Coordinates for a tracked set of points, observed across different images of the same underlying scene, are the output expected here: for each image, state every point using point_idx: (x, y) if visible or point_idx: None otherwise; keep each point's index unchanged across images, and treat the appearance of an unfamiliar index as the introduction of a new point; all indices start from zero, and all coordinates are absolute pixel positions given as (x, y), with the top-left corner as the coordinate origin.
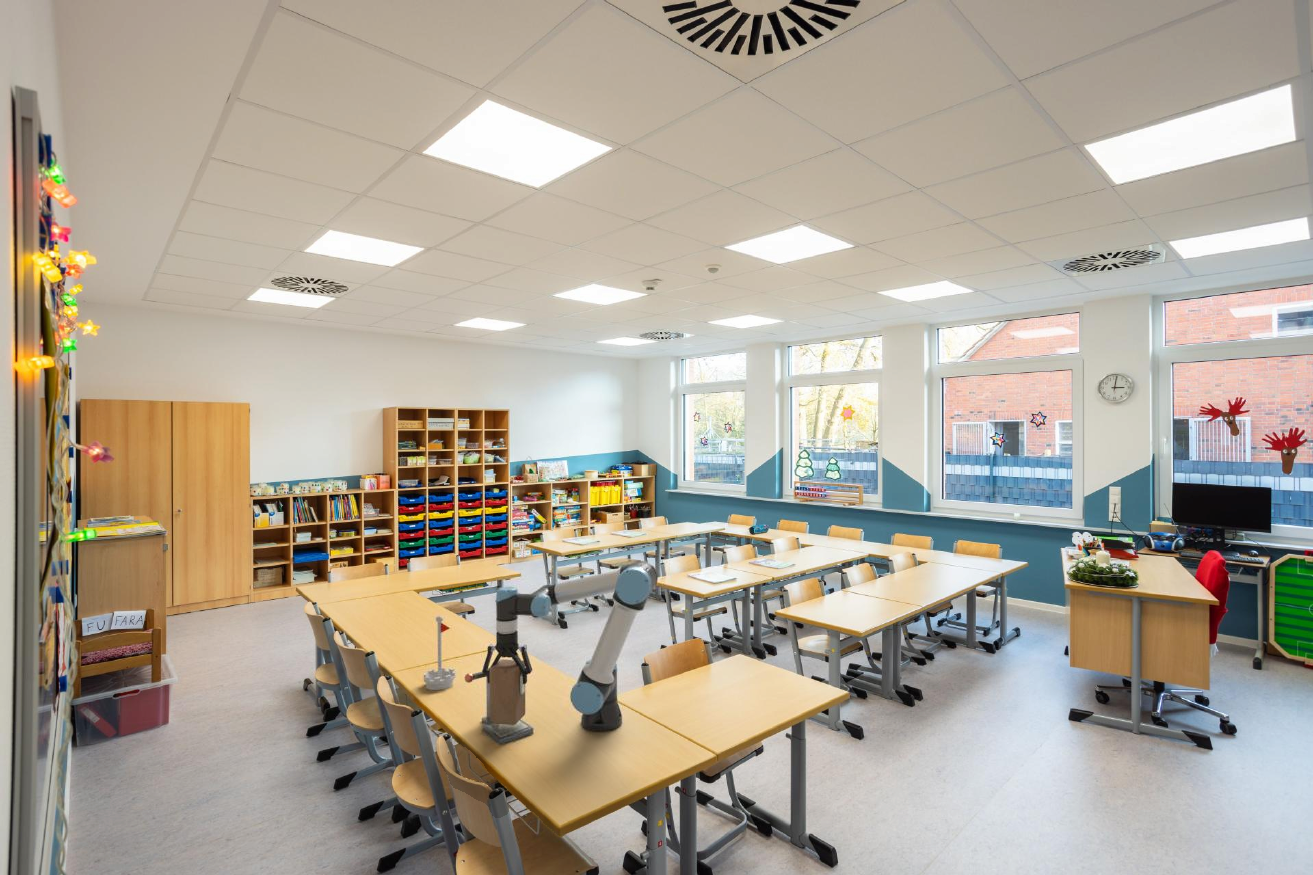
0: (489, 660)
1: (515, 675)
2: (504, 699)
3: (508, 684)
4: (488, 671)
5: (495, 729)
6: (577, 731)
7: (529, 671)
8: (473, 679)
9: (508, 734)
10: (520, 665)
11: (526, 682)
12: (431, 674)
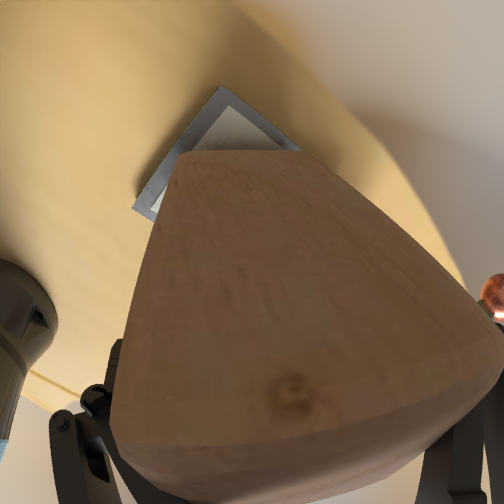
0: (500, 428)
1: (118, 362)
2: (245, 186)
3: (213, 251)
4: None
5: None
6: (26, 248)
7: (54, 428)
8: (480, 301)
9: (204, 130)
10: (137, 495)
11: None
12: None
